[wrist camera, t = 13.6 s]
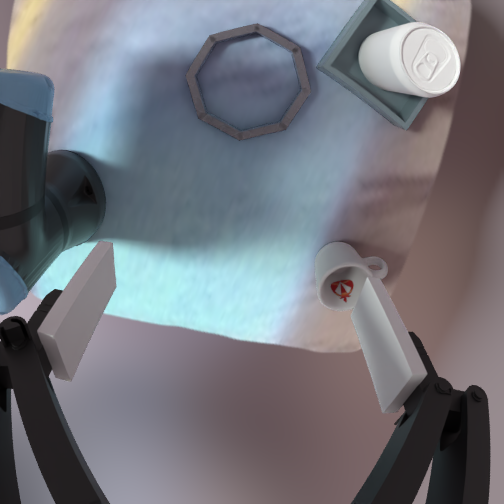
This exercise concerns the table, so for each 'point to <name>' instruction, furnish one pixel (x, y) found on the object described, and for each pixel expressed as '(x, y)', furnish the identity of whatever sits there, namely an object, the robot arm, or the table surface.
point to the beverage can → (410, 60)
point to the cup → (343, 275)
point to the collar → (258, 130)
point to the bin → (348, 68)
